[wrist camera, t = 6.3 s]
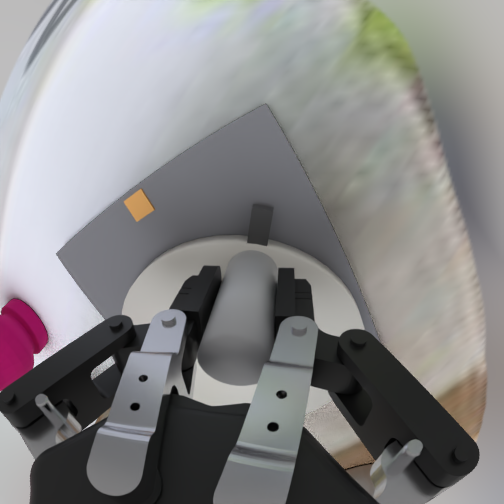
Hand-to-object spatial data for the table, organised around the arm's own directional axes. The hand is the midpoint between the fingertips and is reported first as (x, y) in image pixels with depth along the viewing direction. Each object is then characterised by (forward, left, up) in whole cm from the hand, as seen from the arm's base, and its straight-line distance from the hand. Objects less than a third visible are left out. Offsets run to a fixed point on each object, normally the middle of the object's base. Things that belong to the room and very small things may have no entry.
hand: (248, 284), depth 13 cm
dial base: (-4, +4, -4) cm, 7 cm away
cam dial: (-5, +3, -3) cm, 6 cm away
